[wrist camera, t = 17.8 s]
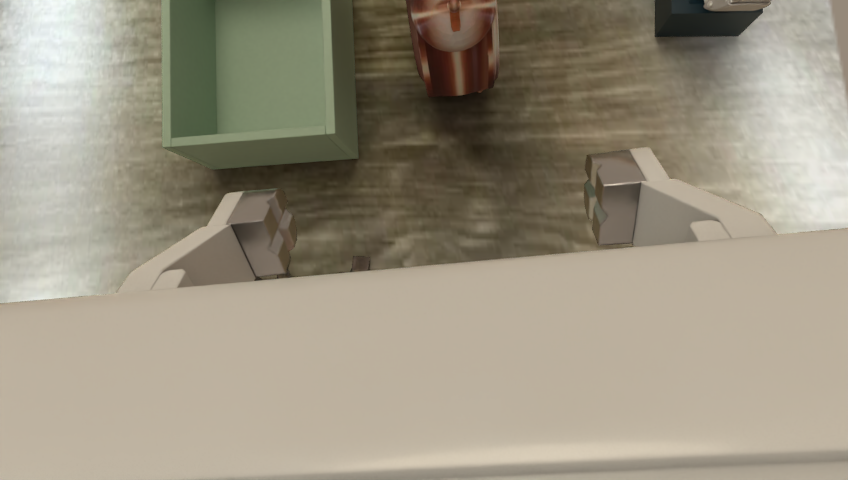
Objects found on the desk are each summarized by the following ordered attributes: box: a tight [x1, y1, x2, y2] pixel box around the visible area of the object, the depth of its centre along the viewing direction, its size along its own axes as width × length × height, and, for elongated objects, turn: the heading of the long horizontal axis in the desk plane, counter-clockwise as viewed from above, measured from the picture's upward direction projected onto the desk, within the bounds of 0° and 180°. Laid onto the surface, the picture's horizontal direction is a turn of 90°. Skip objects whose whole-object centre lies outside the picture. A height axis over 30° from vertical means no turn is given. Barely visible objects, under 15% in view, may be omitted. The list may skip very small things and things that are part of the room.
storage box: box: [162, 0, 359, 170], centre depth 36 cm, size 11×15×6 cm
